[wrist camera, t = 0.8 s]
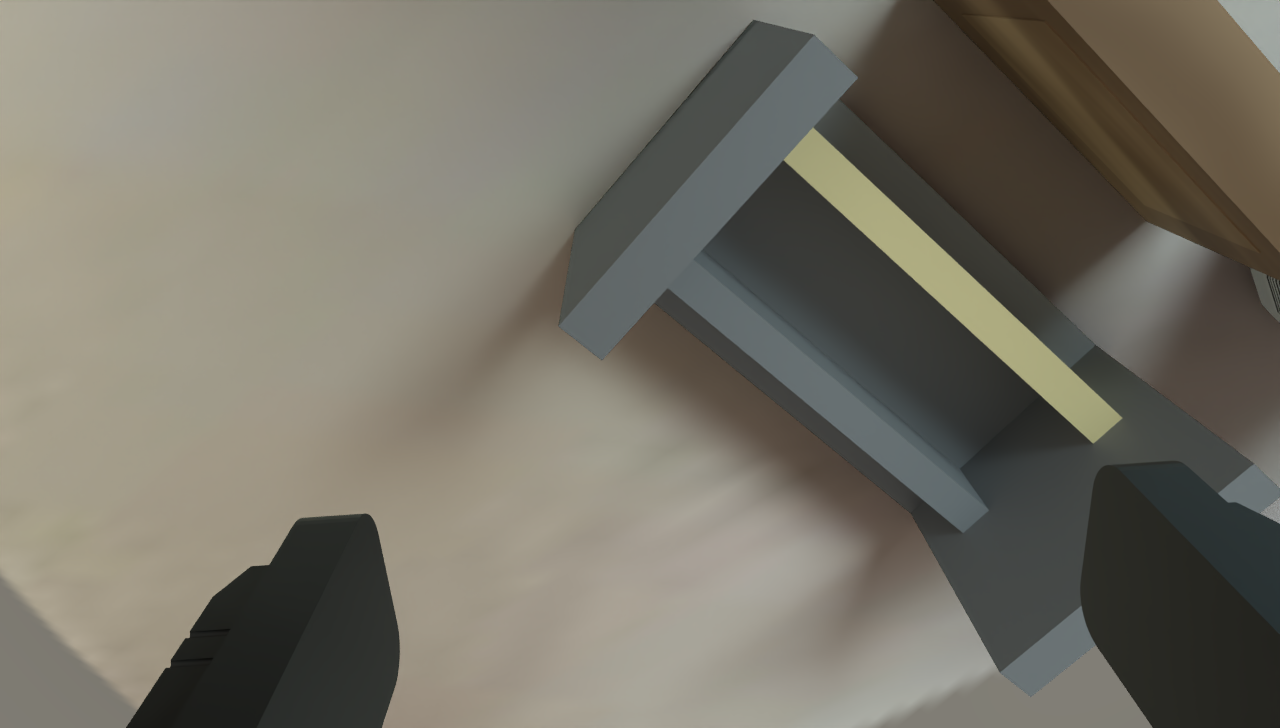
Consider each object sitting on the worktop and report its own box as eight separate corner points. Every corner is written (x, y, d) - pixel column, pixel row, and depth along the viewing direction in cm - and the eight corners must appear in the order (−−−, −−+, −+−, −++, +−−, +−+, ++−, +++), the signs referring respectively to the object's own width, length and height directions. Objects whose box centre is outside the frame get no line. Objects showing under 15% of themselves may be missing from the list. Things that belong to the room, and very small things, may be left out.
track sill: (753, 19, 30) (814, 34, 21) (1106, 358, 35) (1284, 492, 26) (574, 229, 33) (558, 326, 23) (927, 520, 37) (1030, 696, 28)
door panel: (974, -91, 29) (1116, -122, 21) (1206, 163, 32) (1412, 224, 24) (911, -20, 30) (1023, -22, 22) (1144, 222, 33) (1322, 301, 25)
